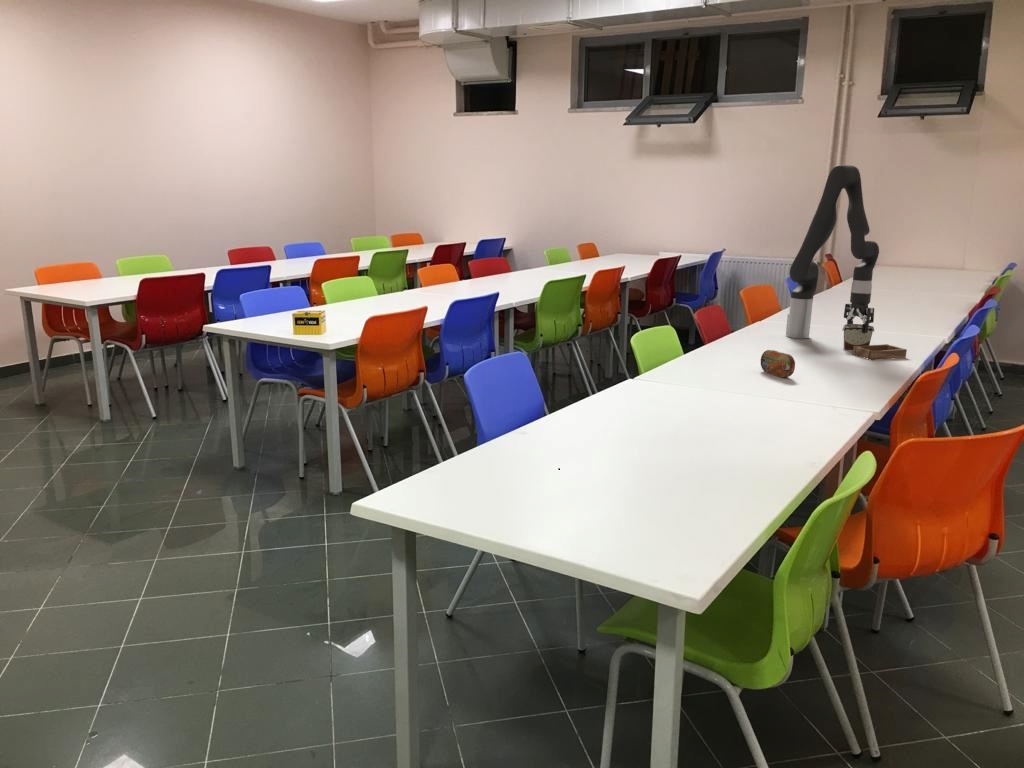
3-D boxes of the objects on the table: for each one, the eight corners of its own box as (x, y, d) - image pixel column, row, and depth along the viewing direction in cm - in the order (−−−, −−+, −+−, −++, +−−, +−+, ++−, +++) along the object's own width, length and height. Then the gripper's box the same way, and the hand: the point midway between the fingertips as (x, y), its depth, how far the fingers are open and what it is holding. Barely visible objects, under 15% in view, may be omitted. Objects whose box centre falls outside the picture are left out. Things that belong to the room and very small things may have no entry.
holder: (852, 354, 315) (853, 346, 314) (885, 352, 320) (886, 344, 319) (871, 360, 305) (872, 351, 304) (905, 357, 310) (906, 349, 309)
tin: (758, 370, 287) (761, 347, 285) (765, 369, 288) (767, 347, 286) (788, 380, 274) (790, 356, 272) (795, 379, 275) (797, 355, 273)
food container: (866, 347, 328) (869, 324, 325) (871, 351, 322) (875, 326, 319) (836, 347, 329) (838, 323, 326) (840, 350, 323) (843, 325, 320)
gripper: (841, 289, 325) (837, 328, 329) (866, 293, 312) (862, 334, 315) (856, 289, 327) (852, 327, 331) (881, 293, 314) (877, 333, 318)
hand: (857, 331), depth 323 cm, fingers open, 8 cm apart
